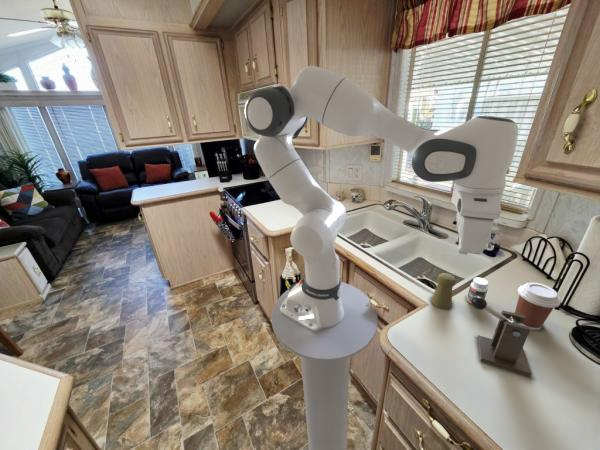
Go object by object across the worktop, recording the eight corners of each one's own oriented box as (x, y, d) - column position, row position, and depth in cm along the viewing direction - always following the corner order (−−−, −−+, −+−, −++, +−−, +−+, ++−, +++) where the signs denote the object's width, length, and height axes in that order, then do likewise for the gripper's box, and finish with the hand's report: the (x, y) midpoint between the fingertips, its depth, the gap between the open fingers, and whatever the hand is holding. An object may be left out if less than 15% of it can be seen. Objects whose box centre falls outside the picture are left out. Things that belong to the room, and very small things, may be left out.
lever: (468, 306, 63) (478, 299, 61) (467, 298, 65) (477, 291, 63) (515, 336, 60) (526, 330, 58) (512, 327, 63) (523, 320, 61)
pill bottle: (464, 301, 84) (470, 281, 81) (468, 294, 87) (474, 274, 83) (481, 308, 81) (487, 287, 77) (484, 300, 84) (491, 280, 80)
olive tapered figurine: (454, 301, 84) (460, 275, 80) (447, 311, 80) (454, 284, 76) (435, 293, 88) (440, 268, 84) (428, 302, 84) (433, 276, 80)
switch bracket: (480, 361, 64) (493, 325, 59) (476, 338, 71) (488, 303, 66) (530, 376, 60) (548, 339, 55) (521, 350, 66) (537, 314, 61)
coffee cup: (547, 338, 69) (563, 305, 64) (506, 322, 75) (518, 291, 70) (548, 319, 75) (563, 288, 70) (510, 306, 81) (521, 275, 76)
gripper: (456, 183, 63) (446, 231, 69) (461, 210, 47) (448, 271, 53) (486, 184, 61) (473, 234, 66) (503, 214, 44) (484, 277, 50)
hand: (462, 251), depth 59 cm, fingers closed
